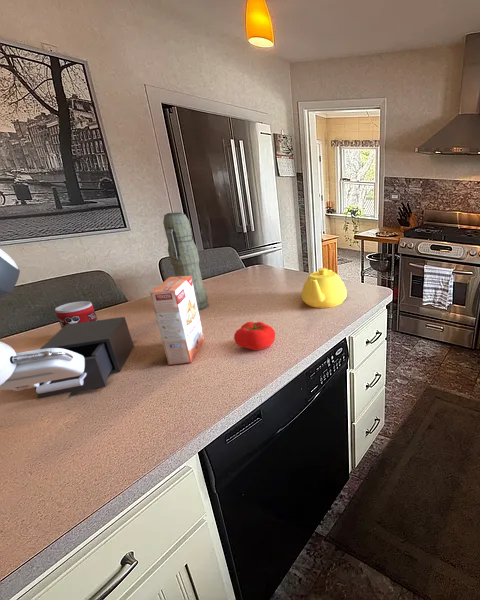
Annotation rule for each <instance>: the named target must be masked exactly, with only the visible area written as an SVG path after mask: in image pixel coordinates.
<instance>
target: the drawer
mask: <svg viewBox="0 0 480 600" xmlns="http://www.w3.org/2000/svg"><path fill="white" fill-rule="evenodd" d="M64 349H67V350H70V351H73V352H76V353H78V354H80V355H82V356H84V358H85V369H84V372H83V373H82V374H81V375H79V376H75V377H70V378H64V379H59V380H53V381H48V382H42V383H39V387H35V388H34V390H35V393H36V394H37V397H38V399H44V398H48V397H49V398H50V397H54V396H58V395H59V396H60V395H64V394H68V393H70V395H73V394H78V393H82V392H83V393H84V392H87V391H88V392H89V391H92V390H98V389H102V388H107V386H108V382H107V379H108V377H109V375H110V374H111V373H110V372H111V370H112V368H113V367H114V364H113V362H112V359H111V356H110V353H109V350H108V347H107V344H106V342H102V343H96V344H89V345H83V346H77V347H70V348H64ZM109 373H110V374H109Z"/></svg>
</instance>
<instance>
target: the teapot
mask: <svg viewBox="0 0 480 600" xmlns="http://www.w3.org/2000/svg"><path fill="white" fill-rule="evenodd" d="M347 292H348V291H347V288H346V285H345V283H344V281H343V280H342V279H341V277H340V276H339V274H337V272H335V271H333V270H332V269H328V268H326V267H322V268H321V267H319V268H318V270H316V271H313V272H311V273H310V274H309V275H308V276H307V278H306V280H305V282H304V284H303V287H302V291H301V299H302V301H303V302H304V303H305V304H306V305H307V306H309V307H312V308H316V309H317V308H318V309H328V308H333V307H338V306H339V305H341V304H342V303H343V302H344V301H345V300H346V298H347V295H348V293H347Z"/></svg>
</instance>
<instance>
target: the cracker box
mask: <svg viewBox="0 0 480 600" xmlns="http://www.w3.org/2000/svg"><path fill="white" fill-rule="evenodd" d="M149 295H150V299H151V303H152V306H153V311H154V315H155V318H156V322H157V326H158V329H159V333H160V334H159V335H160V337H161V338H160V339H161V342H162V345H163V349H164V353H165V358H166V362H167V364H168V366H174V365H183V364H190V363H193V360H194V359H195V357H196V355H197V353H198V351H199V350H200V348H201V346H202V345H203V343H204V341H205V337H204V333H203V326H202V322H201V317H200V313H199V310H198V307H197V302H196V297H195V292H194V287H193V283H192V277H191V276H179V277H176V276H169V277H167V278H166V279H165V280H164V281H162V282H161V283H160V284H158V286H156V287H155V288H154V289H152V290H151V291H150V292H149Z"/></svg>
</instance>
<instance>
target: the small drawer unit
mask: <svg viewBox="0 0 480 600" xmlns="http://www.w3.org/2000/svg"><path fill="white" fill-rule="evenodd" d="M102 342H106V344H107V347H108V350H109V353H110V356H111V359H112V362H113V364H114V367H113V368H112V370H111V372H110V373H109V375H110V374H115V373H119V372H121V371H122V369H123V368H124V366H125V363H126V362H127V359H128V358H129V357H130V355H131V353H132V351H133V349H134V347H135V345H134V342H133V338H132V336H131V332H130V329H129V327H128V323H127V320H126V317H125V316H121V317H113V318H107V319H106V318H105V319H97V321H90V322H82V323H75V324H67V325H65V326H64V327H63V328H61V329H60V330H59V331H58V332H56V334H54V335H53V336H52V337H51V338H50V339H49V340H48V341H47V342H46V343H44V345H42V346H41V347H40V348H39V349H46V348H62V349H64V348H70V347H77V346H83V345H89V344H96V343H102Z"/></svg>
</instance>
